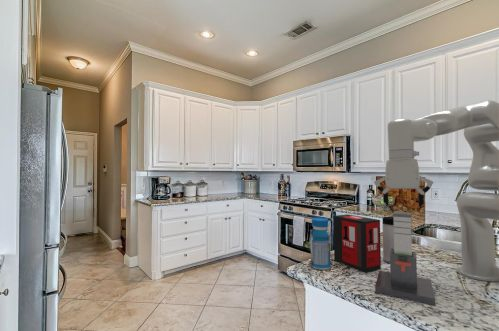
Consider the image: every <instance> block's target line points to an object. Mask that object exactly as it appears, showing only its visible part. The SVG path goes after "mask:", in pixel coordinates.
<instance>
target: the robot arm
mask: <svg viewBox="0 0 499 331" xmlns="http://www.w3.org/2000/svg"><path fill="white" fill-rule="evenodd" d="M461 130H463V136H464V138H465V141H466V142H467V144H468V145H469V147H470V149H471V151H472V161H471V165H470V168H469V169H470V170H469V172H468V176H467V178H468V179H467V183H468V186H469V187H470V188H471V189H474V190H478V191H466V192H463V193H461V194H459V195H458V197H457V199H456V207H457V210H458V214H459V221H460V236H461V244H460V245H461V266H458V267H457V273H459V274H460V275H462V276H464V277H466V278H469V279H474V280H477V281H483V282H490V283H491V282H493V283H495V281H497V282H499V267H498V266H497V265H496V250H495V249H496V248H495V243H496V242H495V230H494V227H493V225H492V223H491V222H490V221H489V220H496V221H499V149H498V148H497V147H496V146H495V145H494V144H493V142H499V102H497V101H495V100H492V99H491V100H489V99H488V100H484V101H479V102H475V103H470V104H466V105H462V106H458V107H453V108H451V109H447V110H442V111H439V112H435V113H433V114H429V115H427V116H423V117H420V118H415V119H409V118H400V119H399V118H398V119H394V120H391V121H389V122H388V123H387V146H388V160H386V164H385V173H384V175H385V176H382V177H381V178H379V179H377V180H375V181H374V186H376V188H377V190H378V191H380V193H381V194H382V195H383V197H382V198H383V203H384V204H385V207H386V206H389V204H390V203H389V201H390V200H389V193H388V192H389V190H390V189H393V190H394V189H395V190H416V191H417V192H418V194H417V195H418V196H417V197H418V202H417V203H418V207H419V208H422V205H425V199H424V195H425V194H426V193H427V192H428V191H429V190H430V189H431V188H432V186H433V184H434V181H433V180H430V179H428V178H426V177H424V176H421V175H420V168H419V162H418V159H416V158H415V157H417V156H420V151H417V150H414V149H415V147H414V146H415V143H414V142H425V141H428V140H431V139H433V138H434V137H439V136H443V135H448V134H452V133H454V132H457V131H461ZM384 181H385V184H384V185H385V186H386V187H385V188H383V187H382V186H381V184H380V183H382V182H384ZM421 182H424V183H426V185H425V187H424V188H421V187H420V186H421ZM483 191H484V192H483ZM485 191H488V192H485ZM489 191H491V192H489ZM494 192H495V193H494ZM496 192H498V193H496Z"/></svg>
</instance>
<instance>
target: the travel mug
mask: <svg viewBox="0 0 499 331" xmlns="http://www.w3.org/2000/svg"><path fill="white" fill-rule="evenodd" d="M393 220H394V217H393V215H392V216H383V217H382V226H381V228H382V261H383V262H384V263H386V264H389V265H390V252H391V249H394V221H393Z"/></svg>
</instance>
